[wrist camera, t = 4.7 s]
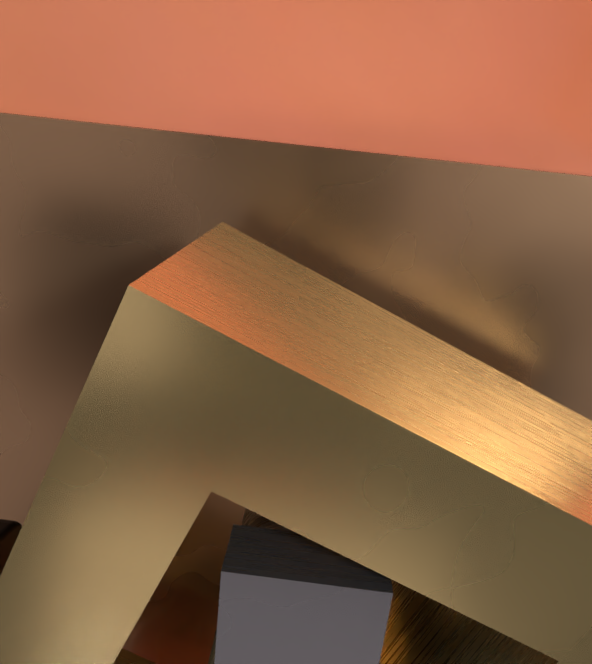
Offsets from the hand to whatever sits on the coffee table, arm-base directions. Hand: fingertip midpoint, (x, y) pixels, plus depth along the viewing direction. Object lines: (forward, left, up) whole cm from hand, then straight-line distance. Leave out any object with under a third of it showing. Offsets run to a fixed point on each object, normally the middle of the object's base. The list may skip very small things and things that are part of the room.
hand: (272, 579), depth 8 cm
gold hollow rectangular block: (0, 0, -1) cm, 1 cm away
